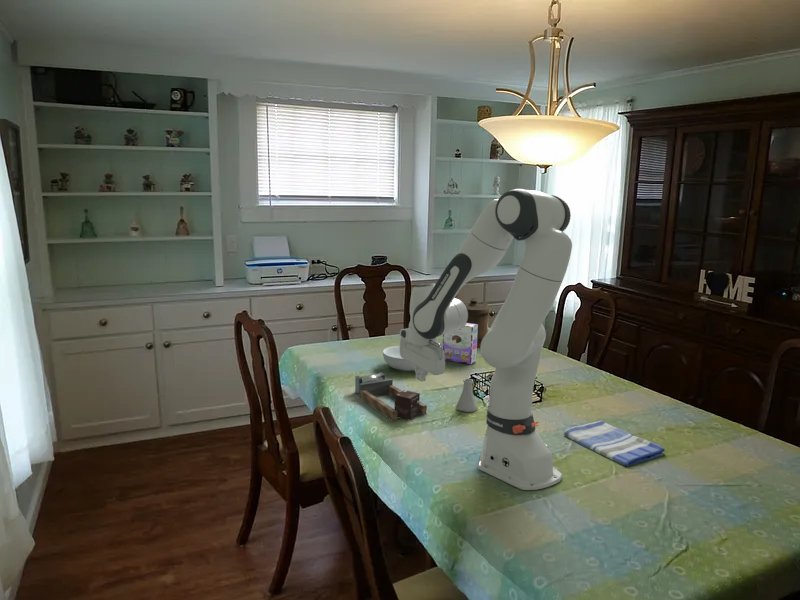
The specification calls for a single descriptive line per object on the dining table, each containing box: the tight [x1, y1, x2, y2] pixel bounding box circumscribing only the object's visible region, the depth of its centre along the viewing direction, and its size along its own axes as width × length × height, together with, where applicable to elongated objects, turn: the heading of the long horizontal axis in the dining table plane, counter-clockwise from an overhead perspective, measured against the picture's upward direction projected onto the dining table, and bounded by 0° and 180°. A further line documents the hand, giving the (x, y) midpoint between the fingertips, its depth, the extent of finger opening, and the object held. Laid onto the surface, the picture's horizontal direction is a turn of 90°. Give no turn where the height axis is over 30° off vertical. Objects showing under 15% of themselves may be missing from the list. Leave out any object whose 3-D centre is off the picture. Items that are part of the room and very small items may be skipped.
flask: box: [455, 378, 478, 413], centre depth 192 cm, size 7×7×10 cm
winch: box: [354, 371, 386, 396], centre depth 206 cm, size 4×10×6 cm, turn 121°
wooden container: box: [464, 297, 490, 348], centre depth 273 cm, size 15×15×22 cm
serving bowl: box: [382, 345, 415, 372], centre depth 235 cm, size 21×21×7 cm
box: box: [393, 389, 420, 421], centre depth 185 cm, size 6×6×7 cm
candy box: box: [442, 323, 478, 365], centre depth 246 cm, size 14×6×16 cm, turn 58°
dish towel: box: [563, 420, 666, 467], centre depth 168 cm, size 17×24×3 cm
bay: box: [358, 377, 428, 422], centre depth 193 cm, size 24×12×5 cm, turn 31°
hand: (420, 379), depth 177 cm, fingers closed
